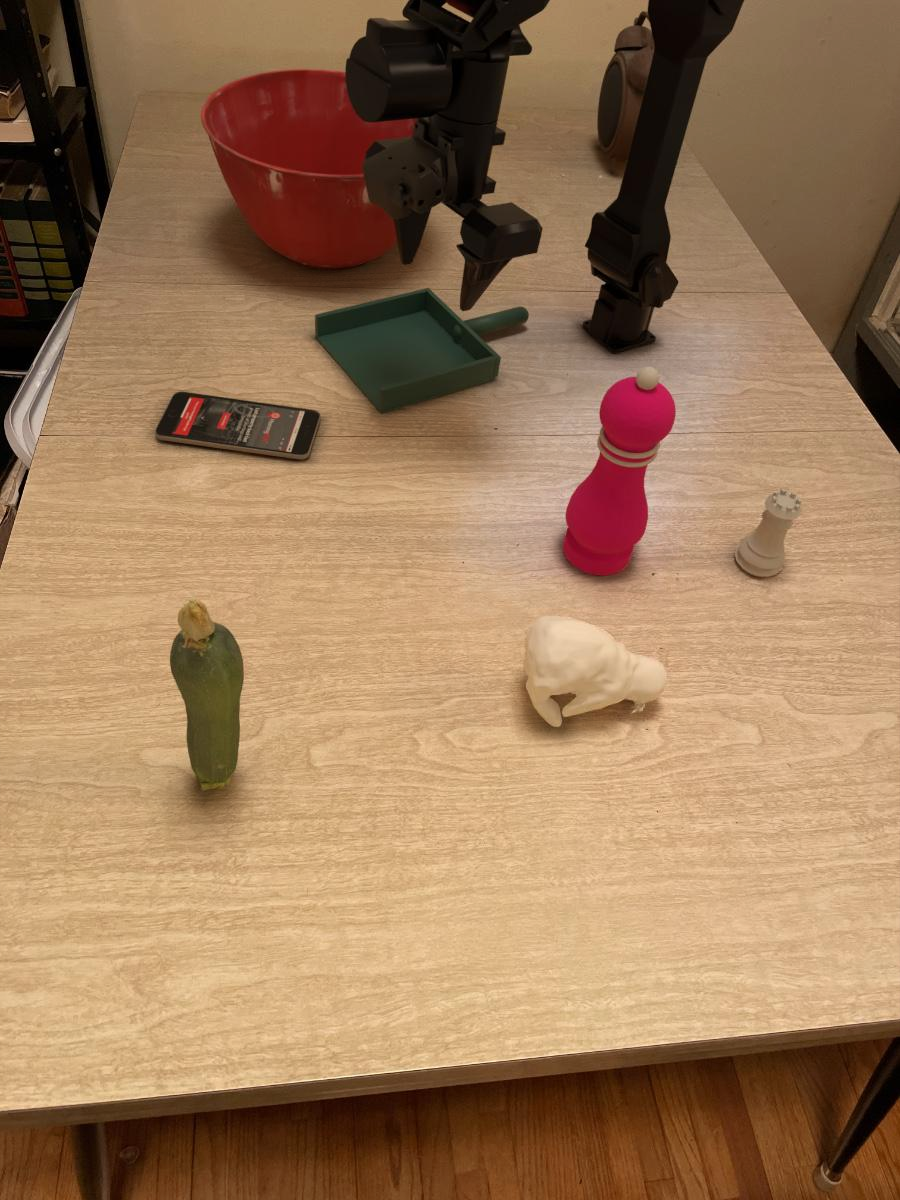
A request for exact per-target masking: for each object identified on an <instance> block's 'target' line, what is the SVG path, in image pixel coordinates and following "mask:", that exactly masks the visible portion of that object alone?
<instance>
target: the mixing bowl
mask: <svg viewBox="0 0 900 1200" xmlns="http://www.w3.org/2000/svg"><path fill="white" fill-rule="evenodd" d="M417 119H418V118H415V119H404V120H394V121H383V122H372V123H369V122H365V121H363V120H362V119H361V118H360V117H359V116H358V115H357V114H356V112H355V111H354V109H353V107H352V105H351V102H350V100H349V96H348V92H347V88H346V79H345V71H341V70H332V69H331V70H329V69H316V68H315V69H313V68H312V69H311V68H300V69H299V68H298V69H294V68H293V69H281V70H272V71H266V72H260V73H256V74H252V75H248V76H244V77H241V78H238V79H236V80H233V81H230V82H228V83H226V84H224V85H222V86H221V87H219V88H217V89H216V90H215V91H213V92H212V93H211V94H210V95H209V96H208V97H207V98H206V99H205V101H204V103H203V105H202V108H201V112H200V120H201V125H202V128H203V130H204V131H205V133H206V134H207V137H208V139H209V142H210V144H211V148H212V150H213V154H214V157H215V159H216V162H217V165H218V168H219V170H220V172H221V175H222V177H223V180H224V182H225V184H226V186H227V188H228V190H229V192H230V194H231V196H232V198H233V200H234V202H235V204H236V206H237V207H238V209H239V211H240V213H241V214H242V216H243V217H244V219H245V220H246V222H247V223H248V225H249V227H250V228H251V230H252V231H253V232H254V233H255V235H256V236H257V237H258V238H259V239H260V240H261V241H262V242H263V243H264V244H265V245H267V247H269V248H270V249H272V250H273V251H275V252H276V253H278V254H280V255H281V256H283V257H286V258H287V259H289V260H291V261H293V262H294V263H297V264H300V265H303V266H307V267H311V268H317V269H330V270H334V269H335V270H336V269H337V270H338V269H346V268H353V267H357V266H359V265H363V264H365V263H366V262H369V261H371V260H374V259H376V258H378V257H380V256H381V255H384V254H385V253H386V252H388V251H389V250H391V249H392V248H393V247H394V246H395V245H396V244H398V242H397V237H396V231H395V226H394V221H393V218H391V217H389V216H388V215H387V214H386V212H385V211H384V210H383V209H381V208H380V207H379V206H377V205H376V204H372V203H371V202H370V201H369V199H368V194H367V189H366V184H365V179H364V174H363V169H362V164H363V162H364V161H365V155H366V151H367V150H368V149H369V148H370V146H371V145H372V144H373V143H374V142H375V141H377V140H386V139H396V138H405V137H411V136H412V134H413V129H414V123H415V122H416V121H417Z"/></svg>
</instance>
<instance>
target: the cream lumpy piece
mask: <svg viewBox="0 0 900 1200" xmlns="http://www.w3.org/2000/svg"><path fill="white" fill-rule="evenodd" d="M524 633H525V637H524V649H525V650H524V659H523V662H522V663H523V664H522V665H523V669H524V671H525V673H526V675H527V677H528V678H527V680H526V684H525V689H526V690H527V693H528V696H529V698H530V701H531V703H532V705H533V708H534V709H535V711H536V712H537V713H538V714H539V716H540V717H542V718H543V720H545V722H546V723H547V724H548V725H550V726H552V727H554V728H559V727H560V726H561V725H562V723H563V719H562V716H563V717H564V718H568V717H572V716H577V715H580V714H584V713H588V712H591V711H596V710H601V709H603V708H606V707H608V706H610V705H616V704H619V703H620V702H623V700H628V701H632V702H633V703H634V706H632V708H634V709H633V710H632V711H631V713H630V715H632V714H633V713H637V712H643V711H644V708H645V706H646V704H645V703H648V702H653V701H655V700H656V699H658V698H659V697H660V696H661V695H663V692H664V691H665V689H666V688H667V684H668V671H667V668H666V666H665V665H664V664H663V663H662V662H661V661H659V660H658V659H656V658H653V657H651V656H648V655H643V654H635V653H633V652H631V651H629V650H628V649H627V648H626V646H625V644H623V642H619V641H616V639H615V638H614V637H613V635H611V634H610V633H609V632H608V631H607V630H604V629H602V628H600V627H599V626H597V625H594V624H592V623H590V622H587V621H584V620H581V619H577V618H575V617H572V616H562V615H544V616H541V617H538V618H537V619H535V620H533V622H531V624H529V625H528V626H527V627H526V628H525V630H524ZM569 693H570V694H573V695H575V698H573V699H572V700H571V701H570V702H569V703H567V704H566V705H565V706H564V707H563V708H562V710H561V709H560V706H559V704H558V702H557V701H555V699H553V698H552V697H551V696H558V695H563V694H564V695H566V694H569ZM628 710H630V708H628ZM628 710H627V711H628Z"/></svg>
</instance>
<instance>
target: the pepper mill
mask: <svg viewBox="0 0 900 1200" xmlns="http://www.w3.org/2000/svg"><path fill="white" fill-rule="evenodd" d="M676 410H677V409H676V403H675V400H674V398H673V395H672V394H671V392H670V391H669V389H667V387H665V386H664V385H663V383H661V382H660V375H659V372H658V370H657V369H656V368H654V367H652V366H645V367H642V368H640V370H638V372H637V373H636V376H628V377H625V378H622V379H620V380H618V381H616V382H614V383H613V384H612V385H611V386H610V387H609V388H608V389H607V390H606V392H605V394H604V396H603V397H602V399H601V402H600V406H599V420H600V424H601V428H600V430H599V435H598V438H597V440H596V441H597V442H596V445H597V449H598V450H599V456H598V457H597V460H596V464H595V465H594V467H593V468H592V470H591V472H590V473H589V474H588V476H587V477H586V478H585V479H583V480H582V482H581V483H580V484H579V485H577V487H576V488H575V489H574V492H573V493H572V494H571V496H570V498H569V501H568V503H567V506H566V509H565V521H566V525H567V528H566V531H565V535H564V539H563V543H562V549H563V550H562V551H563V553H564V555H565V557H566V559H567V561H568V562H570V564H572V566H574V567H575V568H577V569H579V570H580V571H582V572H583V573H587V574H589V575H593V576H600V577H601V576H611V575H615V574H618V573H620V572H621V571H622V570H624V569H625V568H627V566H628V565H629V562H630V560H631V557H632V554H633V551H634V547H635V545H637V544H638V543H639V542H640V541H641V539H642V538H643V537H644V535H645V534H646V533H645V532H646V530H647V525H648V520H649V505H648V501H647V496H646V490H645V477H646V472H647V467H648V465H650V464H652V463H653V462H654V461H655V460H656V459H657V456H658V451H659V449H660V447H661V441H663V440H664V439H665V438H666V437H668V436H669V434H670V433H671V431H672V429H673V426H674V424H675V419H676V414H677V413H676V412H677V411H676Z"/></svg>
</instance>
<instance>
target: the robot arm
mask: <svg viewBox="0 0 900 1200" xmlns="http://www.w3.org/2000/svg"><path fill="white" fill-rule="evenodd" d="M550 1H551V0H407V2H406V4H405V5H404V7H403V9H402V11H401V13H402V14H401V15H402V17H404V18H405V19H402V20H390V19H387V18H384V17H370V18H368V19H367V21H366V27H365V35H364V36H362V37H360V38H358V39H357V40H356V41H355V43H354V44H353V46H352V48H351V50H350V54H349V57H347V59H346V61H345V71H344V72H345V79H346V88H347V92H348V96H349V100H350V102H351V105H352V107H353V109H354V111H355V112H356V114H357V115H358V116H359V117H360V118H361V119H362V120H363V121H365V122H369V123H372V122H383V121H394V120H404V119H415V118H418V119H417V121H416V122H415V123H414V129H413V134H412V136H411V137H405V138H396V139H386V140H377V141H375V142H374V143H373V144H372V145H371V146H370V148H369V149H368V150H367V151H366V155H365V161H364V162H363V164H362V169H363V174H364V179H365V184H366V189H367V194H368V199H369V201H370V202H371V203H372V204H376V205H377V206H379V207H380V208H381V209H383V210H384V211H385V212H386V214H387V215H388V216H389V217H391V218H393V221H394V226H395V231H396V237H397V248H398V253H399V258H400V262H401V264H402V265H404V266H408V265H412V264H413V262H414V260H415V258H416V256H417V253H418V251H419V248H420V245H421V242H422V239H423V236H424V234H425V233H424V232H425V230H426V227H427V225H428V221H429V219H430V215H431V212H432V208H434V207H437V206H438V205H439V204H441V205H444V206H445V207H447V208H448V209H449V210H451V211H452V212H454V213H455V214H457V215H458V216H459V217H461V218H462V220H461V225H460V231H459V234H460V237H461V241H462V243H458V244H456V246H455V247H456V249H457V250H458V252H459V253H460V254H461V256H462V257H463V259H464V265H463V271H462V273H463V274H462V279H461V288H460V294H459V310H460V311H462V312H467V311H470V310H472V309H473V307H474V306H475V305H476V303H477V302H478V301H479V299H480V298H481V297H482V295H483V294H484V293H485V292H486V290H487V289H488V288H489V287H490V285H491V284H492V282H493V281H494V280H495V279H496V278H497V276H498V275H499V274H500V273H501V271H502V270H504V268H505V267H506V266H507V265H508V264H509V263H510V262H511V261H512V260H513V259H515V258H516V259H517V258H521V257H525V256H529V255H533V254H534V255H535V254H537V253H538V250H539V247H540V242H541V239H542V233H543V230H544V229H543V226H542V225H541V223H540V221H539V220H538V219H537V218H536V217H535V216H533V215H531V214H530V213H529V212H527V211H526V210H524V209H522V208H521V207H520V206H518V205H517V204H515V203H514V202H513V201H511V202H504V203H499V204H493V205H488V204H486V203H484V201H481V200H482V199H483V196H484V195H490V194H495V190H496V186H497V181H496V180H495V179H493V178H492V177H490V176H489V175H488V173H489V168H490V163H491V158H492V153H493V147H496V146H504V145H505V141H506V134H507V131H505V130H503V129H501V128H500V127H498V121H499V114H500V111H501V106H502V99H503V96H504V95H503V94H504V89H505V85H506V78H507V74H508V68H509V63H510V59H511V58H510V57H516V56H518V57H519V56H529V55H530V54H531V53H532V51H533V46H532V44H531V43H530V41H529V40H528V38H527V37H526V36H525V34H524V33H523V31H522V28H521V26H520V25H522V24H523V23H524V22H526V21H528V20H530V19H531V18H533V17H535V16H537V15H538V14H540V13H541V12H543V11H544V10H545V9H546V8H547V6H548V4H549V2H550ZM744 2H745V0H648V3H647V12H648V16H649V21H650V23H649V25H650V30H651V31H652V36H653V41H654V53H653V57H652V61H651V66H650V70H649V74H648V78H647V82H646V86H645V90H644V94H643V98H642V102H641V106H640V110H639V114H638V118H637V122H636V126H635V130H634V134H633V138H632V142H631V146H630V150H629V155H628V159H627V160H626V163H625V167H624V171H623V176H622V179H621V183H620V187H619V191H618V194H617V197H616V198H615V199H614V200H613V201H612V202H611V203H610V204H609V205H608V207H606V208H605V209H604V210H603V211H597V212H595V213H594V215H593V216H592V218H591V225H590V231H589V236H588V238H587V240H586V242H585V244H584V247H585V248H586V249H587V254H586V255H587V260H588V261H589V262H590V273H591V275H592V276H593V277H596V278H597V279H599V280H601V281H602V282H604V283H603V284H601V285H600V287H599V292H598V296H597V299H595V302H594V306H593V311H592V315H591V318H590V319H588V320H583V321H582V324H581V326H582V328H583V329H584V330H586V331H587V332H588V333H589V334H590V335H591V336H593V338H595V339H596V340H597V341H598V342H600V344H602V345H603V346H604V347H606V348H607V350H609V351H610V352H611V353H612V354H619V353H623V352H626V351H629V350H632V349H635V348H639V347H642V346H646V345H650V344H652V343H655V342H656V340H657V336H655V335H654V334H653V333H652V332H651V331H650V330H649V328H650V324H651V320H652V317H653V315H654V310H655V308H656V309H660V308H663V306H664V303H665V302H667V301H669V300H671V298H672V296H673V294H674V293H675V291H676V289H677V287H678V285H679V280H678V278H677V277H676V275H675V274H674V272H673V271H672V268H671V267H670V266H669V264H668V256H669V249H670V244H671V239H672V235H671V229H670V225H669V221H668V216H667V211H666V204H667V199H668V197H669V192H670V189H671V185H672V182H673V178H674V176H675V175H674V174H675V172H676V168H677V164H678V162H679V161H678V160H679V157H680V154H681V150H682V146H683V143H684V140H685V136H686V133H687V129H688V126H689V122H690V118H691V115H692V112H693V108H694V104H695V101H696V97H697V94H698V90H699V87H700V84H701V80H702V77H703V73H704V69H705V66H706V63H707V60H708V57H709V56H710V55H711V54H712V53H713V52H714V51H715V50H716V49H717V47H719V46H720V45H721V43H723V41H724V40H725V39H726V38H727V37H728V36H729V35H730V34H731V33H732V32H733V30H734V28H735V25H736V22H737V19H738V17H739V14H740V13H741V9H742V7H743V4H744ZM445 4H447V5H448V6H450V7H452V8H453V9H455V10H457V11H459V12H461V13H463V14H465V15H467V16H468V17H470V18H472V20H471V21H469V20H467V19H465V18H463V17H462V16H460V15H457V14H456V13H454V12H452V11H450V10H449V9H447V8H445V7H443V6H445ZM649 21H648V22H649Z"/></svg>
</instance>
